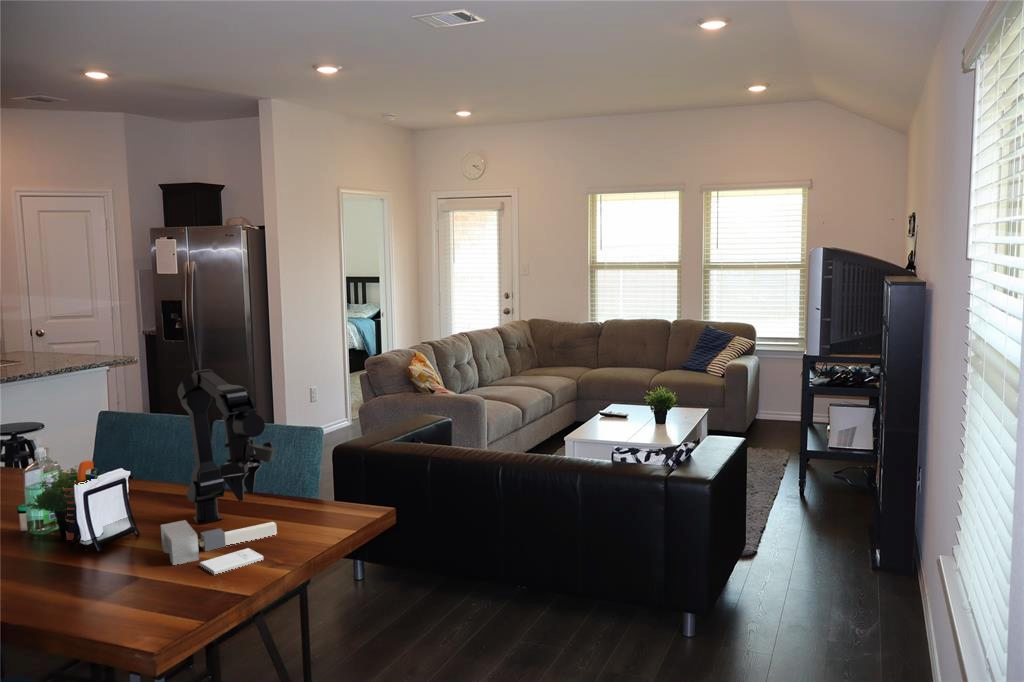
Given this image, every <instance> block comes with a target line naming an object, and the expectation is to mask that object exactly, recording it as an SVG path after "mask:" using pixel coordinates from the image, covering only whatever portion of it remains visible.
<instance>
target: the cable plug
mask: <svg viewBox="0 0 1024 682" xmlns="http://www.w3.org/2000/svg"><path fill="white" fill-rule="evenodd" d="M277 530H278V529H277V523H276V522H274V521H271V522H266V523H261V524H257V525H251V526H247V527H243V528H242V527H241V528H238V529H233V530H229V531H224V530H223V529H222V528H221V527H219V528H215V529H211V530H205V531H202V532H199V533H200V539H198V547H201V548H203V549H204V550H205V551H208V552H211V551H210V550H213V549H217V548H221V547H225V546H226V545H230V544H235V545H237V544H236V543H239V544H241V543H240V542H244V543H246V542H245V541H248V542H251V540H252V541H256V540H255V539H257V540H260V538H261V539H265V538H264V537H266V538H269V537H268V536H270V537H273V536H272V535H275V536H277V535H278V531H277ZM276 534H277V535H276ZM230 546H231V545H230ZM226 547H227V546H226ZM203 549H202V550H203ZM221 549H222V548H221ZM204 550H203V551H204ZM217 550H218V549H217ZM205 551H204V552H205ZM213 551H214V550H213Z"/></svg>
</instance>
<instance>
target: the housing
mask: <svg viewBox="0 0 1024 682" xmlns="http://www.w3.org/2000/svg"><path fill="white" fill-rule="evenodd" d="M160 532H161V533H160V534H161V545H162V546H161V547H162V548H161V549H162V551H163V553H164V554H165V553H167V554H169V561H170V563H171V564H172V566H173V565H175V566H178V565H177V564H179V565H183V564H188V563H191V562H196V561H199V560H200V553H199V544H198V540H199V539H198V534H197V532H196V531H195V530H194V529H193V527H192V526H191V525H190V524H189V522H188V521H187V520H185V519H184V520H179V521H178V520H177V521H173V522H169V523H164V524H163V523H162V524H160ZM187 562H188V563H187Z"/></svg>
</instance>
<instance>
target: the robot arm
mask: <svg viewBox="0 0 1024 682" xmlns="http://www.w3.org/2000/svg"><path fill="white" fill-rule="evenodd" d="M177 396H178V399H179V400H180V405H181V406H182V407H183V409H184V410H185V411H186V412H187V413H188V417H189V424H190V433H191V440H192V447H193V453H194V461H195V466H194V468H193V470H192V472H191V475H190V478H191V479H190V480H191V482H190V485H189V486H188V488H187V491H186V496H187V500H188V501H189V502H191V503H193V504H195V516H192V520H193V521H194V522H195V523H196V524H197V525H203V524H207V523H214V522H217V520H218V521H222V520H223V518H222V517H221V515H220V514H219V510H218V509H219V508H218V498H221V497H224V496H225V489H226V488H225V487H226V484H227V486H228V487H229V488H230V491H232V493H233V495H234V496H235V497H236V499H237V501H238V502H243V501H244V500H245V499H244V497H245V496H244V495H245V489H246V491H247V493H248V495H253V494H254V492H255V485H256V479H257V478H256V476H257V472H258V470H260V468H261V467H262V466H263V463H271V462H272V461H274V457H275V454H276V453H277V451H276V447H274V443H273V442H272V441H265V442H264V443H263V444H257V443H255V439H253V438H256V437H259V436H260V435H262V434H263V432H264V431H265V428H266V425H265V424H266V423H265V421H264V419H263V417H262V416H261V415H259V414H258V413H257V414H256V412H257V411H258V408H257V404H256V403H255V401H254V399H253V397H252V396H251V394H250V392H249V391H248V389H247V388H246V387H244V386H241V385H239V384H238V385H237V384H230V383H228V382H227V381H226V380H225V379H223V378H222V377H220V376H219V375H217V374H216V373H215V371H214V370H213V369H209V368H208V369H200V370H195V371H193V372H192V374H191V375H189V377H187V378H185V379H184V380H182V381H181V382H180V384H179V385H178V388H177ZM213 397H214V399H215V405H216V406H217V409H219V411H220V412H221V414H222V417H221V420H222V421H223V423H224V429H225V438H226V442H225V443H224V447H225V448H227V451H228V452H227V453H228V458H227V459H226V462H225V463H223V464H221V465H220V467H218V465H217V464H216V463H215V462H214V461H215V459H214V453H213V446H212V438H211V432H210V425H209V417H208V416H209V415H208V410H209V408H210V405H211V403H212V398H213ZM221 519H222V520H221Z"/></svg>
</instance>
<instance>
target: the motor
mask: <svg viewBox="0 0 1024 682" xmlns="http://www.w3.org/2000/svg"><path fill="white" fill-rule="evenodd" d="M94 466H95V465H94V460H93V461H92V460H83V461H81V462H80V463H79V465H78V469H77V474H75V475H74V474H73V475H70V476H69V475H68V476H66V477H62V478H61V479H62V480H63V479H65V478H74V479H75V480H76V482H75V484H76V485H78V483H79V482H85V481H86V482H85V483H87V482H88V481H87V480H89V481H91V479H97V478H98V479H99V476H98V475H97V474H93V473H87V471H89V470H93V469H94ZM94 470H95V469H94ZM80 484H84V483H80ZM73 485H74V484H73ZM61 488H62V489H63V490H62V491H63V492H64V491H74V488H64V487H62V486H61ZM64 496H65V497H68V498H72V497H74V495H67V494H64ZM64 496H63V497H64ZM65 497H64V498H65ZM67 504H75V501H67ZM67 510H75V507H67ZM73 515H74V514H70V513H69V514H68V513H67V516H73ZM67 516H66V517H67ZM65 521H66V522H70V523H75V522H74V521H75V520H69V519H66V518H65ZM65 535H66V541H68V540H73V538H74V533H69V532H67V531H66V530H65Z"/></svg>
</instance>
